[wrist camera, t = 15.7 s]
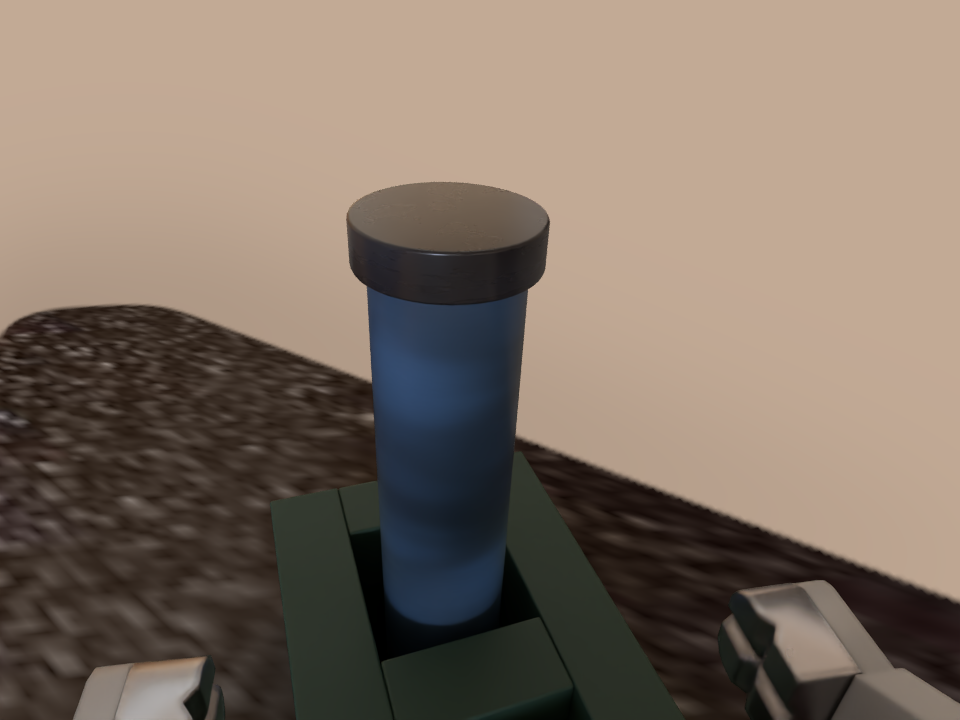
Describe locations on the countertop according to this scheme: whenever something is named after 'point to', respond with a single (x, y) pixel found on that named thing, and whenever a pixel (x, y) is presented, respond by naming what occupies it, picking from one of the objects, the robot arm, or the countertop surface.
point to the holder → (468, 661)
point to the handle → (445, 393)
